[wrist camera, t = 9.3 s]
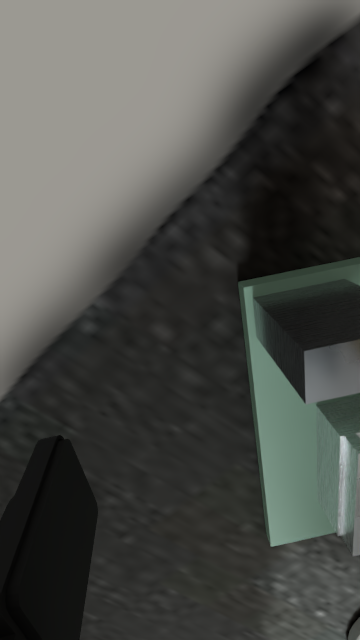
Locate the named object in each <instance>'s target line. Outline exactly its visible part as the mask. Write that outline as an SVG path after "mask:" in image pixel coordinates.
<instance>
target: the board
mask: <svg viewBox="0 0 360 640" xmlns="http://www.w3.org/2000/svg"><path fill="white" fill-rule="evenodd" d="M340 279H346V280H348V281H350V282H353V283H355V284H357V285H359V286H360V257H357V258H352V259H347V260H342V261H337V262H333V263H328V264H323V265H318V266H313V267H308V268H303V269H298V270H294V271H289V272H284V273H279V274H274V275H269V276H264V277H260V278H255V279H250V280H245V281H240V282H238V287H239V296H240V305H241V313H242V322H243V331H244V340H245V349H246V358H247V367H248V376H249V384H250V393H251V402H252V411H253V420H254V429H255V438H256V447H257V455H258V464H259V473H260V482H261V491H262V500H263V509H264V518H265V527H266V534H267V537H268V540H269V543H270V545H271V547H273V546H277V545H282V544H286V543H291V542H295V541H300V540H304V539H309V538H313V537H317V536H322V535H326V534H331V533H335V530H334V529H333V527H332V525H331V523H330V521H329V520H328V518H327V516H326V514H325V512H324V510H323V509H322V507H321V505H320V503H319V501H318V499H317V435H316V405H320V404H325V403H330V402H334V401H339V400H344V399H348V398H353V397H358V396H360V393H357V394H352V395H347V396H343V397H338V398H333V399H329V400H324V401H319V402H315V403H310V404H305V403H304V401H303V400H302V399H301V397H300V396H299V395H298V393H297V392H296V391H295V389H294V388H293V386H292V385H291V384H290V382H289V381H288V380H287V378H286V377H285V376H284V374H283V373H282V371H281V370H280V369H279V367H278V366H277V365H276V363H275V362H274V361H273V359H272V358H271V356H270V355H269V354H268V352H267V351H266V350H265V348H264V347H263V346H262V344H261V343H260V341H259V340H258V339H257V337H256V327H255V316H254V306H253V297H258V296H263V295H268V294H273V293H277V292H282V291H287V290H292V289H297V288H302V287H307V286H311V285H316V284H321V283H326V282H331V281H336V280H340Z"/></svg>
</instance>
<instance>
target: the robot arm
mask: <svg viewBox="0 0 360 640" xmlns="http://www.w3.org/2000/svg"><path fill="white" fill-rule="evenodd" d="M97 516H98V508H97V502H96V500H95V497H94V495H93V493H92V490H91V488H90V486H89V483H88V481H87V479H86V476H85V474H84V472H83V469H82V467H81V465H80V462H79V460H78V458H77V455H76V453H75V451H74V448H73V446H72V444H71V442H70V440H69V439H64V438H63V437H62V436H61V435H58V436H53V437H49V438H44V439H40V440H39V441H38V442H37V444H36V447H35V449H34V451H33V454H32V456H31V458H30V461H29V463H28V465H27V468H26V470H25V472H24V475H23V477H22V479H21V482H20V484H19V486H18V489H17V491H16V493H15V496H14V497H13V498H12V499H11V500H10V501H9V503H8V505H7V507H6V509H5V511H4V514H3V516H2V518H1V521H0V640H79V638H80V632H81V625H82V618H83V611H84V604H85V598H86V591H87V584H88V577H89V571H90V564H91V557H92V550H93V543H94V537H95V530H96V523H97ZM348 640H360V617H359V618H358V619H357V620H356V622H355V623H354V624H353V626H352V628H351V629H350V631H349V635H348Z"/></svg>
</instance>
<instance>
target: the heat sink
mask: <svg viewBox="0 0 360 640" xmlns="http://www.w3.org/2000/svg"><path fill="white" fill-rule="evenodd" d="M253 306H254V316H255V327H256V337H257V339H258V340H259V341H260V343H261V344H262V346H263V347H264V348H265V350H266V351H267V352H268V354H269V355H270V356H271V358H272V359H273V361H274V362H275V363H276V365H277V366H278V367H279V369H280V370H281V371H282V373H283V374H284V376H285V377H286V378H287V380H288V381H289V382H290V384H291V385H292V386H293V388H294V389H295V391H296V392H297V393H298V395H299V396H300V397H301V399H302V400H303V401H304V403H305V404H310V403H315V402H319V401H324V400H329V399H333V398H338V397H343V396H347V395H352V394H357V393H360V286H359V285H357V284H355V283H353V282H350V281H348V280H346V279H340V280H336V281H331V282H326V283H321V284H316V285H311V286H307V287H302V288H297V289H292V290H287V291H282V292H277V293H273V294H268V295H263V296H258V297H253ZM316 435H317V499H318V501H319V503H320V505H321V507H322V509H323V510H324V512H325V514H326V516H327V518H328V520H329V521H330V523H331V525H332V527H333V529H334V530H335V532H336V534H337V536H340V535H341V537H342V538H343V540H344V542H345V544H346V546H347V547H348V549H349V551H350V553H351V555H352V556H356V555H360V396H358V397H353V398H348V399H344V400H339V401H334V402H330V403H325V404H320V405H316Z"/></svg>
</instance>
